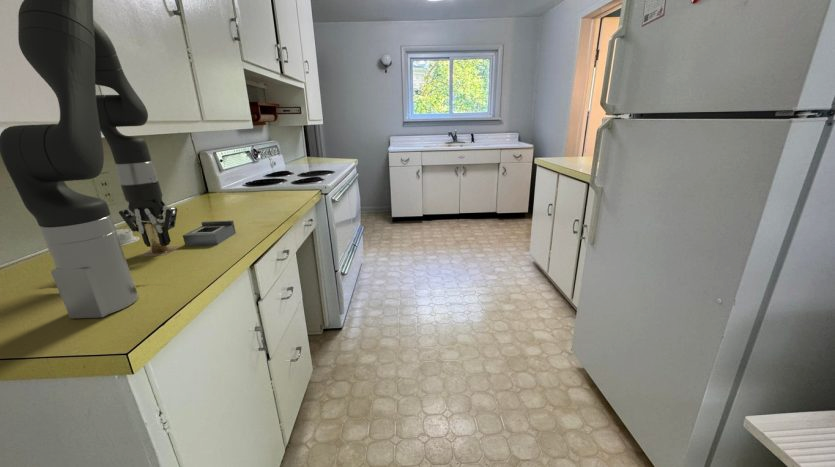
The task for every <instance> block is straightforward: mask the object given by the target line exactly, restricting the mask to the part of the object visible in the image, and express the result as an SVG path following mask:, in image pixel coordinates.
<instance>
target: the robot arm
mask: <svg viewBox="0 0 835 467" xmlns="http://www.w3.org/2000/svg"><path fill="white" fill-rule="evenodd" d="M17 19H18V21H17V22H18V25H17V26H18V32H17V33H18V35H17V36H18V37H17V38H18V45H19V49H20V51H21V54H22V55H23V57H24V58H25V60H26V61H27V62H28V63H29V65H31V67H32V68H33V69H34V71H36V73H37V74H38V75H39V76H40V77H41V78H42V79H43V80H44V82H45V83H46V84H48V86H49V87H50V88H51V90H52V91H53V93H54V94H55V96H56V99H57V101H58V102H57V103H58V107H59V121H58V123H49V124H48V123H47V124H46V123H45V124H21V125H19V124H18V125H11V126H8V127H6V128H4V129H3V130H2V132H1V133H0V157H1V160H2V162H3V165H4V166H5V169H6V171H7V173H8V174H9V177H10V179H11V181H12V182H13V185H14V186H15V188H16V190H17V192H18V195H19V196H20V200H22V203H23V205H24V206H25V208H26V209H27V211H28V212H29V213H30V214H31V216H32V217H34V219H35V220H36V223H37V224H38V227H39V230H40V232H41V234H42V236H43V239H44V242H45V244H46V246H47V249H48V251H49V255H50V256H51V259H52V261H53V263H54V266H55V268H54V269H51V271H50V274H51V276H52V278H53V280H54V283H55V286H56V287H57V290H58V292H59V293H58V294H59V296H60V298H61V299H62V302H63V305H64V306H65V309H66V311H67V314H68V316H69V319H92V318H93V319H96V318H97V319H99V318H100V319H101V318H104V317H107V316H109V315H110V314H112V313H115V312H118V311H121V310H123V309H125V308H127V307H129V306H131V305H132V304H134V303H135V302H137V300H138V299H139V294H138V291H137V288H136V286H135V282H134V280H133V277H132V273H131V271H130V268H129V264H128V261H127V258H126V257H125V253H124V250H123V248H122V247H123V246H121V244H120V241H119V238H118V235H117V232H116V230H117V229H116V227H115V223H114V221H113V218H112V215H111V211H110V208H109V206H108V204H107V202H106V201H105V200H104V199H103V198H102V199H101V198H99V197H94V196H89V195H86V194H83V193H80V192H77V191H76V190H74V189H71V188H70V187H69V186H68V185H67V183H65V182H70V181H71V182H72V181H84V180H87V181H88V180H92V179H95V178H97V177H99V176H100V174H101V173H102V171H103V168H104V160H105V158H104V157H105V156H104V155H105V152H104V146H103V139H102V135H103V137H104V139H105V141H106V143H107V144H108V147H109V149H110V151H111V154H112V157H113V161H114V164H115V167H116V175H117V178H118V181H119V184H120V188H121V191H122V194H123V197H124V199H125V200H124V201H126V202H127V203H128V207H127V208H126V209H123V210H119V211H118V214H119V215H120V217H121V218H122V219H123V221H124V222H125V223H126V225H127V226H128V228H129V229H131V230H132V233H133V232H134V233H135V232H138V233H139V234H141V236H142V241H143V243H144V245H145V246H146V247H147V248H148V247H149V248H151V246H150V243H149V240H148V237H147V233H146V230H145V227H144V223H147V222H149V221H151V222H152V224H153V225H155V227H156V229H157V231H158V232H159V233H158V236H159V239H160V242H161V246H170V244H171V237H170V234H169V233H170V232H169V230H171V229H174V228H175V227H176V220H177V214H178V208H177V207H176V206H173V207H171V206H168V205H166V204H165V202H164V201H163V193H162V189H161V185H160V183H159V178H158V174H157V171H156V168H155V165H154V164H153V161H152V158H151V155H150V150H149V148H148V144H147V141H146V140H145V139H144V138H142V137H138V136H130V135H125V134H123V133H122V132H120V131H119V130H118V129H117V128H121V127H122V128H123V127H140V126H141V127H142V126H144V125H145V124H147V122H148V119H149V113H148V110H147V107H146V105H145V104H144V102H143V101H142V99H141V98H140V97H139V95H138V94H137V92H136V91H135V90H134V88H133V87H132V85H131V84H130V82H129V80H128V78H127V76H126V75H125V72H124V70H123V68H122V64H121V62H120V59H119V56H118V54H117V51H116V48H115V46H114V44H113V42H112V40H111V39H110V37H109V36H108V34H107V33H106V32H105V30H104V29H103V28H102V27H101V26H100V24H98V23H97V22H96V21H95V20H94V0H23V1H22V2H21V4H20V7H19V10H18V18H17ZM96 86H102V87H106V88H110V89H112V90H114V91H115V92H116V93H117V94H97V90H96V89H97V88H96Z"/></svg>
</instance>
